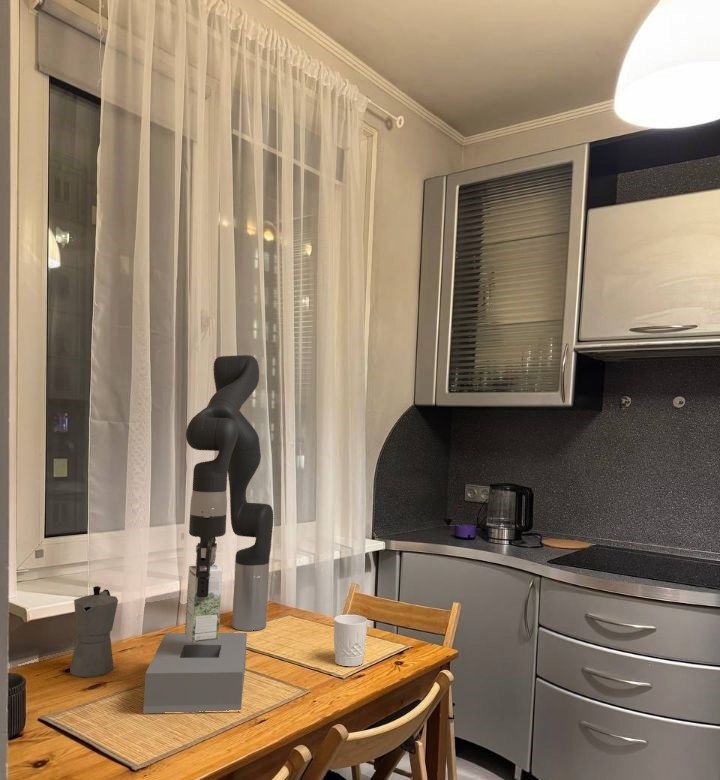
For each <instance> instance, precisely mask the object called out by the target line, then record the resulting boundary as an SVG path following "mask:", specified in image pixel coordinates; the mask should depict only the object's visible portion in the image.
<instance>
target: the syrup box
mask: <svg viewBox="0 0 720 780" xmlns="http://www.w3.org/2000/svg"><path fill="white" fill-rule="evenodd" d="M196 570H197V567H196V565H190V566H189V567H188V577H187V592H186V593H187V596H186V613H185V627H184V628H185V630H184V633H185V634H186V636H187V637H188V638H189V639H190V641H191V642H198V641H207V640H215V639H218V638H219V633H220V621H221V620H220V619H221V602H222V601H221V600H222V586H223V585H222V584H223V570H222V568H221V567H219V566H218V565H217V564H215V563H214V564H213V567H212V568H211V569H210V578H209V591H208V596H207V597H197V584H198V579H197V577H196ZM206 570H207V568H201V570H200V571H206Z"/></svg>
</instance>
